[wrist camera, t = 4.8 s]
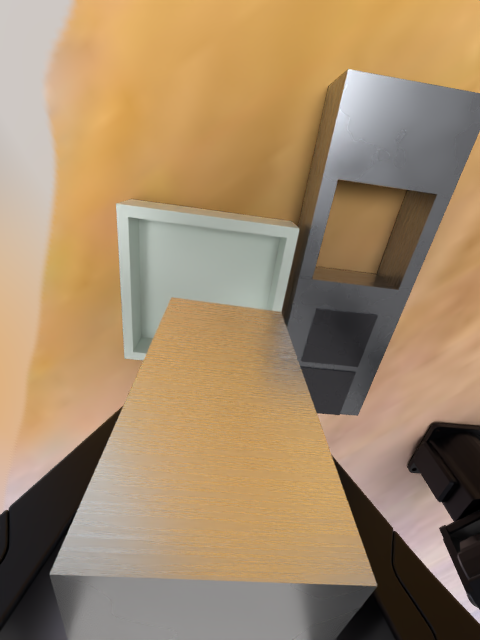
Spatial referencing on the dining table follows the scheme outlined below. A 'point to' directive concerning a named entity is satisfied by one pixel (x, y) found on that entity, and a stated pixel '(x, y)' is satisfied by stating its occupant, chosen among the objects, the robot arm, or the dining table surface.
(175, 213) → the parts tray
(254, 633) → the brushed aluminium bar
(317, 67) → the dining table surface
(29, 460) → the dining table surface
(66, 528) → the robot arm
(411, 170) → the rail
